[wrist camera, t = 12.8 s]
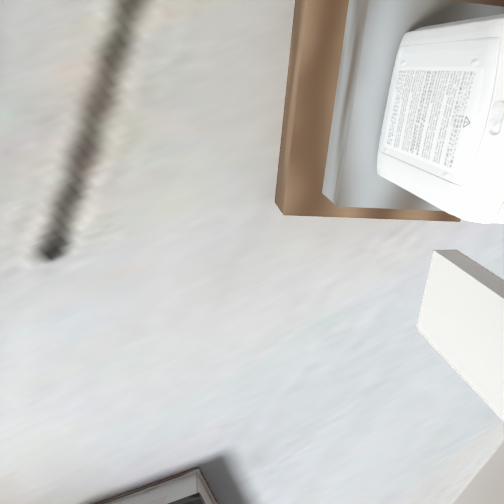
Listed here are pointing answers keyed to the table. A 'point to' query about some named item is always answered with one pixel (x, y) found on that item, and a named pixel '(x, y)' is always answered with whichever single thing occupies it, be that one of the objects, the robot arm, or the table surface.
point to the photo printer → (449, 118)
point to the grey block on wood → (351, 105)
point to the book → (170, 491)
